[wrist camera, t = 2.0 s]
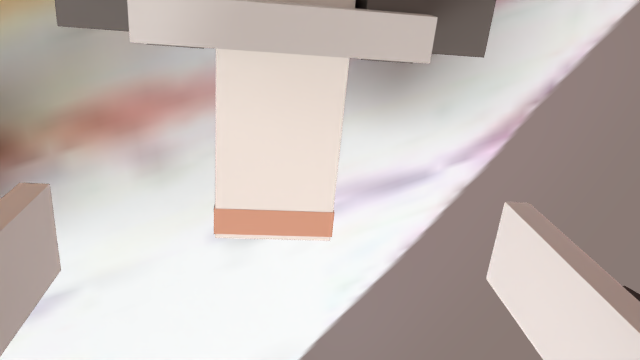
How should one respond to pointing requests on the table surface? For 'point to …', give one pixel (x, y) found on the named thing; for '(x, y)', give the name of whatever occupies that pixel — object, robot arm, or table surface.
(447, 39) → the dispenser
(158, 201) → the table surface
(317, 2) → the cream rectangular bar
